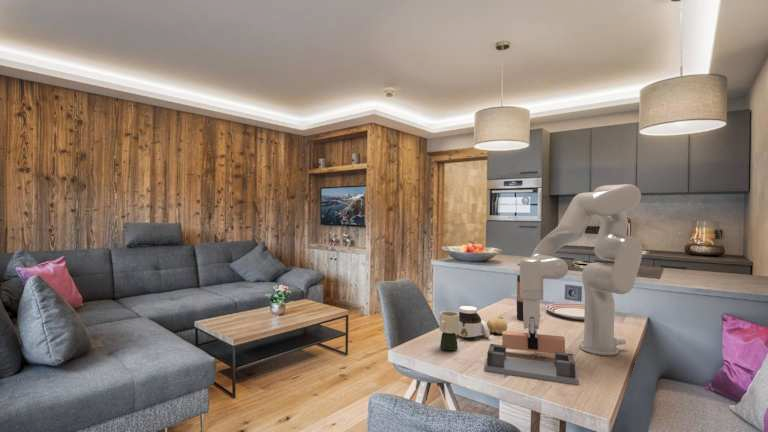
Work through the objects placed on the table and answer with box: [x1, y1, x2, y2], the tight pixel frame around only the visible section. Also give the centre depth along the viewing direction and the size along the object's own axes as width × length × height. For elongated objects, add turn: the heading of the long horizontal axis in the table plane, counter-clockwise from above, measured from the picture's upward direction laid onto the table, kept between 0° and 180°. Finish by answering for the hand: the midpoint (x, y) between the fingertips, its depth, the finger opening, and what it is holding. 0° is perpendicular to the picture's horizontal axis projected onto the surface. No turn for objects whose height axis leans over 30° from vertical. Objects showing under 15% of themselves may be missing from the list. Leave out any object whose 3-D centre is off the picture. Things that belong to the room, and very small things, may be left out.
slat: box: [501, 330, 566, 355], centre depth 137 cm, size 20×4×5 cm, turn 69°
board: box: [483, 356, 580, 386], centre depth 124 cm, size 27×11×2 cm, turn 69°
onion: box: [486, 314, 508, 335], centre depth 163 cm, size 8×8×7 cm
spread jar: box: [456, 305, 491, 341], centre depth 157 cm, size 12×11×12 cm
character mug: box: [438, 310, 459, 351], centre depth 143 cm, size 11×7×13 cm, turn 141°
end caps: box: [486, 343, 576, 378], centre depth 124 cm, size 25×9×4 cm, turn 69°
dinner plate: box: [545, 302, 585, 321], centre depth 192 cm, size 28×27×3 cm
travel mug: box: [516, 274, 524, 322], centre depth 183 cm, size 8×8×20 cm
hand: (532, 346), depth 137 cm, fingers closed on slat, 3 cm apart
